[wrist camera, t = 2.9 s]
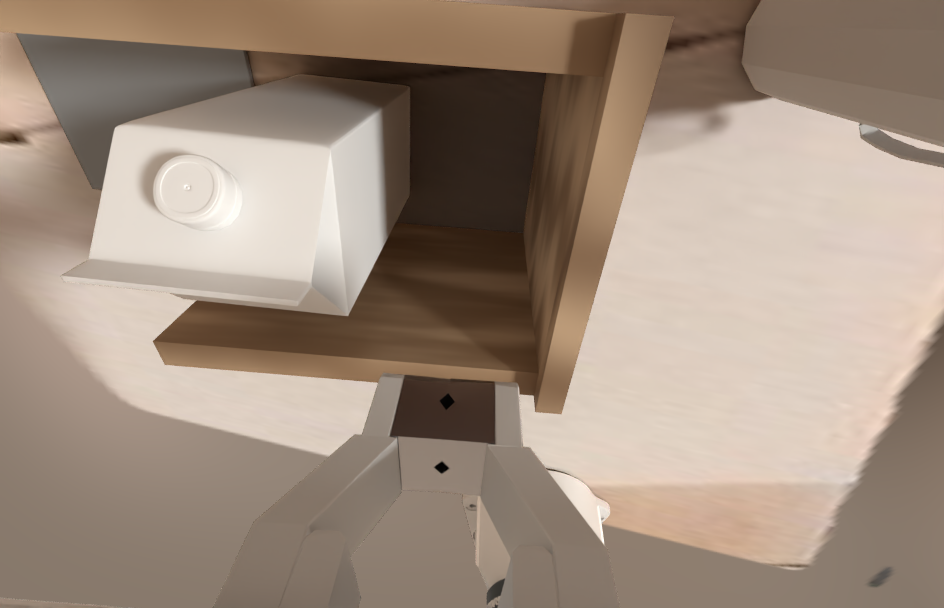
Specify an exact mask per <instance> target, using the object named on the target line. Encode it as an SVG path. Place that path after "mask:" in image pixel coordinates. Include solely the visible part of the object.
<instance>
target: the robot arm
mask: <svg viewBox="0 0 944 608" xmlns="http://www.w3.org/2000/svg"><path fill="white" fill-rule="evenodd" d="M401 490H408V491H428V492H446V493H455V494H462V503H463V507H464V510H465V514H466V517H467V521H468V525H469V528H470V532H471V536H472V539H473V543H474V546H475V550H476V566H478V567H479V570H480V574H481V576H482V577H483V579H484V581H485V584H486V586H487V589H488V592H487V607H486V608H620V604H619V600H618V596H617V590H616V586H615V581H614V576H613V572H612V567H611V562H610V557H609V553H608V549H607V548H606V547H605V545H604V539H603V532H602V525H601V524H602V523H603V521H604V520H605V519H606V518H607V517H608V516H609V515H610V507H609V504H608V503H607V502H605V501H603V500H602V499H600V498H598V497H596V496H594V495H593V493H592V492H591V491H590V489H589V488H588V487H587V486H586V485H585V484H584V483H583V482H581V481H580V480H578V479H576V478H574V477H572V476H570V475H567V474H564V473H560V472H556V471H550V470H547V469H546V468H545V466H544V465H543V464H542V462H541V461H540V460H539V459H538V457H537V456H536V455H535V453H534V452H533V451H532V449H531V448H529V447H523V438H522V424H521V409H520V395H519V386H518V384H517V383H512V382H497V381H495V382H494V381H483V380H467V379H452V378H450V379H446V378H436V377H426V376H416V375H402V374H392V373H383V374H382V375H381V377H380V379H379V382H378V385H377V388H376V391H375V394H374V398H373V401H372V404H371V407H370V410H369V414H368V417H367V420H366V423H365V426H364V429H363V433H362V435H356V434H355V435H353V436H352V437H351V438H350V439H349V440H348V441H347V442H345V443H344V444H343V445H342V446H341V447H340V448H338V449H337V450H336V451H335V452H334V453H333V454H332V455H330V456H329V457H328V458H327V459H326V460H325V461H323V462H322V463H321V464H320V465H319V466H318V467H317V468H315V469H314V470H313V471H312V472H311V473H310V474H308V475H307V476H306V477H305V478H304V479H303V480H302V481H300V482H299V483H298V484H297V485H296V486H295V487H293V488H292V489H291V490H290V491H289V492H288V493H286V494H285V495H284V496H283V497H282V498H281V499H279V500H278V501H277V502H276V503H275V504H274V505H273V506H271V507H270V508H269V509H268V510H267V511H266V512H264V513H263V514H262V515H261V516H260V517H259V518H258V519H256V520H255V521H254V522H253V524H252V527H251V528H250V530H249V532H248V535H247V537H246V539H245V541H244V543H243V545H242V547H241V549H240V552H239V554H238V556H237V558H236V560H235V562H234V564H233V566H232V568H231V570H230V572H229V575H228V576H227V579H226V581H225V583H224V585H223V587H222V589H221V591H220V594H219V595H218V597H217V599H216V602H215V604H214V606H213V608H359V604H360V599H361V596H360V592H359V588H358V584H357V580H356V576H355V572H354V568H353V564H352V560H351V556H352V555H353V554H354V552H355V551H356V550H357V549H358V547H359V546H360V545H361V543H362V542H363V541H364V540H365V538H366V537H367V536H368V535H369V533H370V532H371V531H372V529H373V528H374V527H375V526H376V524H377V523H378V522H379V521H380V519H381V518H382V517H383V516H384V514H385V513H386V512H387V510H388V509H389V508H390V507H391V505H392V504H393V503H394V502H395V500H396V499H397V498H398V497H399V495H400V494H401ZM0 608H128V607H114V606H101V605H88V604H75V603H62V602H47V601H35V600H34V601H33V600H22V599H8V598H0Z"/></svg>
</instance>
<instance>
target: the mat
mask: <svg viewBox="0 0 944 608" xmlns="http://www.w3.org/2000/svg"><path fill="white" fill-rule="evenodd" d="M16 34H17V36H18V38H19V40H20V42H21V44H22V46H23V48H24V50H25V52H26V54H27V56H28V58H29V60H30V62H31V64H32V67H33V69H34V71H35V73H36V75H37V77H38V79H39V81H40V83H41V85H42V87H43V89H44V91H45V93H46V95H47V97H48V99H49V101H50V103H51V105H52V107H53V109H54V111H55V113H56V115H57V117H58V119H59V121H60V123H61V126H62V128H63V130H64V132H65V134H66V136H67V138H68V140H69V142H70V144H71V146H72V148H73V150H74V152H75V154H76V156H77V158H78V160H79V162H80V164H81V166H82V168H83V170H84V172H85V174H86V176H87V178H88V180H89V182H90V185H91V187H92V189H102V188H103V183H104V178H105V173H106V168H107V163H108V158H109V153H110V148H111V143H112V138H113V134H114V130H115V127H117V126H118V125H121V124H124V123H126V122H129V121H132V120H135V119H139V118H142V117H146V116H149V115H153V114H157V113H160V112H164V111H168V110H171V109H175V108H178V107H182V106H186V105H189V104H193V103H197V102H200V101H204V100H207V99H211V98H215V97H218V96H222V95H226V94H229V93H233V92H237V91H240V90H244V89H247V88H251V87H255V86H254V82H253V77H252V73H251V68H250V64H249V59H248V55H247V50H236V49H223V48H210V47H196V46H183V45H170V44H156V43H143V42H130V41H116V40H103V39H90V38H76V37H63V36H50V35H36V34H23V33H16Z"/></svg>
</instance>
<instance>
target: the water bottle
mask: <svg viewBox="0 0 944 608" xmlns="http://www.w3.org/2000/svg"><path fill="white" fill-rule="evenodd" d="M742 65H743V67H744V69H745V71H746V73H747V75H748V77H749V79H750V81H751V83H752V85H753V88H754V90H756V91H759V92H761V93H764V94H766V95H769V96H771V97H774V98H777V99H779V100H782V101H785V102H789V103H792V104H796V105H799V106H803V107H806V108H810V109H813V110H817V111H820V112H824V113H827V114H831V115H834V116H837V117H841V118H844V119H848V120H851V121H855V122H858V123H860V125H859V129H860V136H861V139H863V140H865V141H866V142H868V143H869V144H871V145H872V146H874V147H875V148H877V149H880V150H882V151H884V152H887V153H889V154H891V155H894V156H896V157H898V158H901V159H906V160H910V161H915V162H920V163H924V164H929V165H934V166H938V167H943V168H944V153H940V152H935V151H930V150H924V149H919V148H916V147H914V146H911V145H909V144H906V143H904V142H901V141H898V140H896V139H893V138H891V137H890V136H888V135H887V134H885V133H884V132H882V131H880V130H879V129H883V130H886V131H889V132H893V133H896V134H900V135H903V136H907V137H910V138H914V139H917V140H921V141H924V142H928V143H931V144H935V145H938V146H942V147H944V0H761V1H760V3H759V5H758V6H757V8H756V10H755V12H754V13H753V15H752V17H751V18H750V20H749V22H748V24H747V25H746V33H745V41H744V49H743V57H742ZM878 128H879V129H878Z"/></svg>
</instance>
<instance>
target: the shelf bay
mask: <svg viewBox="0 0 944 608" xmlns="http://www.w3.org/2000/svg"><path fill="white" fill-rule="evenodd" d="M674 17H675V16H661V15H647V14H634V13H604V12H590V11H577V10H563V9H550V8H536V7H522V6H509V5H495V4H481V3H468V2H454V1H440V0H0V32H9V33H23V34H36V35H50V36H63V37H76V38H90V39H103V40H116V41H130V42H143V43H156V44H170V45H183V46H196V47H210V48H223V49H236V50H250V51H263V52H276V53H290V54H303V55H316V56H330V57H343V58H356V59H370V60H383V61H396V62H410V63H423V64H436V65H450V66H463V67H476V68H490V69H503V70H516V71H530V72H543V73H546V79H545V86H544V93H543V100H542V106H541V113H540V120H539V127H538V134H537V141H536V148H535V155H534V162H533V168H532V175H531V182H530V189H529V196H528V203H527V210H526V217H525V224H524V230H523V233H518V232H505V231H492V230H480V229H467V228H455V227H442V226H429V225H417V224H404V223H395V225H394V227H393V229H392V231H391V233H390V235H389V236H388V238H387V240H386V242H385V244H384V246H383V248H382V250H381V252H380V254H379V256H378V258H377V260H376V262H375V264H374V266H373V268H372V270H371V272H370V274H369V276H368V278H367V280H366V282H365V284H364V285H363V287H362V289H361V291H360V293H359V295H358V297H357V299H356V301H355V303H354V305H353V307H352V309H351V311H350V313H349V316H341V315H331V314H321V313H312V312H302V311H293V310H283V309H274V308H264V307H255V306H246V305H236V304H227V303H217V302H208V301H198V300H197V301H196V302H195V303H193V304H192V305H191V306H190V307H189V308H188V309H187V310H186V311H185V312H184V313H183V314H182V315H181V316H179V317H178V318H177V319H176V320H175V321H174V322H173V323H172V324H171V325H170V326H169V327H168V328H167V329H165V330H164V331H163V332H162V333H161V334H160V335H159V336H158V337H157V338H156V339H155V340H154V341H153V343H154V345H155V346H156V348H157V350H158V352H159V354H160V356H161V358H162V360H163V362H164V364H165V365H174V366H186V367H198V368H210V369H222V370H234V371H246V372H258V373H270V374H282V375H294V376H306V377H318V378H330V379H342V380H354V381H366V382H379V379H380V377H381V375H382V374H383V373H392V374H402V375H416V376H426V377H436V378H446V379H450V378H452V379H467V380H483V381H494V382H495V381H497V382H512V383H517V384H518V386H519V394H522V395H534V402H535V412H542V413H554V414H561V413H562V410H563V406H564V403H565V399H566V396H567V392H568V389H569V385H570V382H571V378H572V375H573V371H574V368H575V364H576V361H577V357H578V354H579V350H580V347H581V343H582V340H583V336H584V333H585V329H586V326H587V322H588V319H589V315H590V312H591V308H592V305H593V301H594V298H595V294H596V291H597V287H598V284H599V280H600V277H601V273H602V270H603V266H604V263H605V259H606V255H607V252H608V248H609V245H610V241H611V238H612V234H613V231H614V227H615V224H616V220H617V217H618V213H619V210H620V206H621V203H622V199H623V196H624V192H625V189H626V185H627V182H628V178H629V175H630V171H631V168H632V164H633V161H634V157H635V154H636V150H637V147H638V143H639V140H640V136H641V133H642V129H643V126H644V122H645V119H646V115H647V112H648V108H649V105H650V101H651V98H652V94H653V91H654V87H655V84H656V80H657V77H658V73H659V70H660V66H661V62H662V59H663V55H664V52H665V48H666V45H667V41H668V38H669V34H670V31H671V27H672V24H673V20H674Z"/></svg>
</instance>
